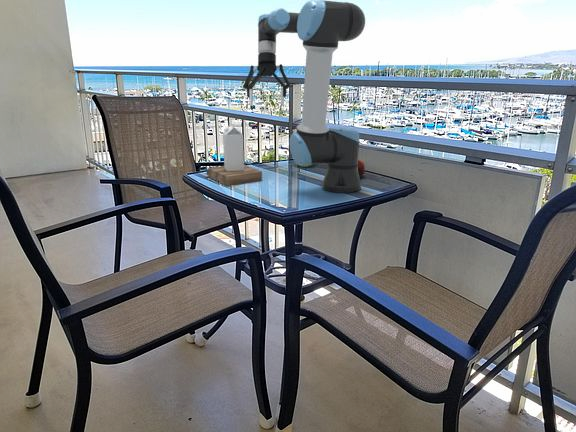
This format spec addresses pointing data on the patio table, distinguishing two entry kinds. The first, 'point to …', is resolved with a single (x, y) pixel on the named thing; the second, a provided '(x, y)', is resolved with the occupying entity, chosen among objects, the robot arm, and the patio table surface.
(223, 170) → the brown flat block
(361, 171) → the fruit
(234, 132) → the milk carton
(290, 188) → the patio table surface
